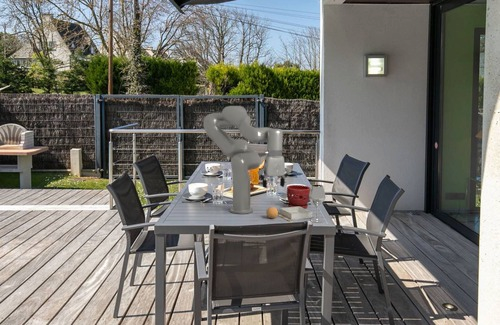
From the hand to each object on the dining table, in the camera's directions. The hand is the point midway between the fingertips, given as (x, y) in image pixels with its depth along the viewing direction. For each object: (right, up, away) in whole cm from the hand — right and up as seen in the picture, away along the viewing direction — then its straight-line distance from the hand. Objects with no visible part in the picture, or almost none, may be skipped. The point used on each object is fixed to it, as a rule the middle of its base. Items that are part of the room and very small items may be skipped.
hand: (273, 186), depth 249 cm
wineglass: (+21, -17, -3) cm, 28 cm away
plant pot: (+15, -13, +27) cm, 34 cm away
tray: (+12, -15, +8) cm, 21 cm away
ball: (-1, -16, +2) cm, 16 cm away
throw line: (+5, -16, +4) cm, 17 cm away
